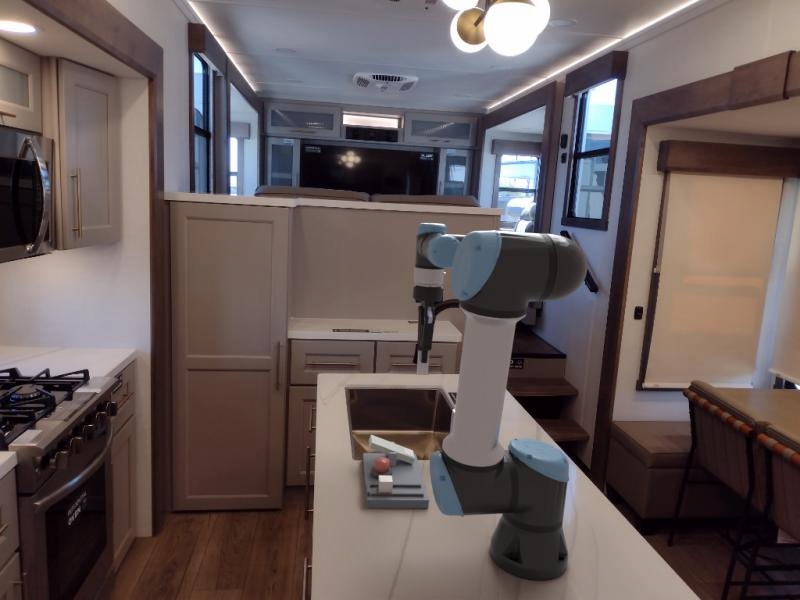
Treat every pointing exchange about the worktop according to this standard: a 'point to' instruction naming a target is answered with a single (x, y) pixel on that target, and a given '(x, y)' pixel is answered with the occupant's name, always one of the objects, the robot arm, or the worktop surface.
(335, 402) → the worktop surface
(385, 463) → the button
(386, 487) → the slider knob
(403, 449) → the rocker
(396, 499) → the console
